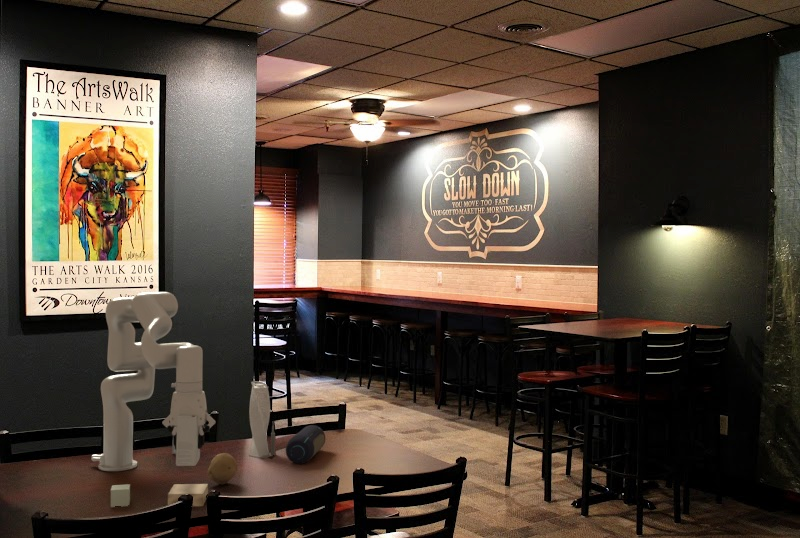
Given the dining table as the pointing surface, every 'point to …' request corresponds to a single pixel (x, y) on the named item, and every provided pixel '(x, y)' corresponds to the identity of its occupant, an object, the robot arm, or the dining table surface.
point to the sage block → (120, 495)
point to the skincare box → (187, 441)
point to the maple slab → (193, 489)
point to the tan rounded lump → (222, 468)
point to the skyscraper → (260, 421)
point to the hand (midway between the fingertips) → (188, 447)
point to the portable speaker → (305, 444)
